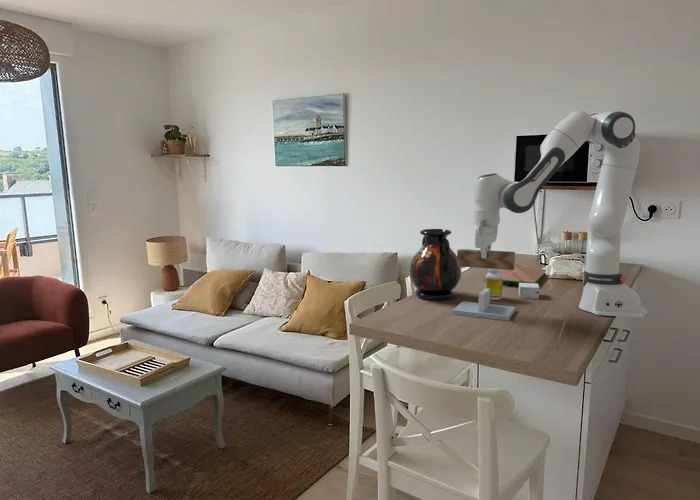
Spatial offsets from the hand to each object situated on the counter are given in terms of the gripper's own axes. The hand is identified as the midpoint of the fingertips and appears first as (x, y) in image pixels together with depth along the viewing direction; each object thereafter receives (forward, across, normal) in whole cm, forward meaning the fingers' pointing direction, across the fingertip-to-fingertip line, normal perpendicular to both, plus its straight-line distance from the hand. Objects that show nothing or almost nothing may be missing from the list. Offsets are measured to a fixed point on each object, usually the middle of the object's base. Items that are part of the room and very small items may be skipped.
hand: (485, 257), depth 179 cm
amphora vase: (+21, +16, +24) cm, 36 cm away
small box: (+21, +31, -11) cm, 39 cm away
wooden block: (+4, 0, 0) cm, 4 cm away
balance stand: (+21, 0, 0) cm, 21 cm away
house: (+22, +60, -1) cm, 64 cm away
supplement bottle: (+21, +22, +1) cm, 31 cm away
